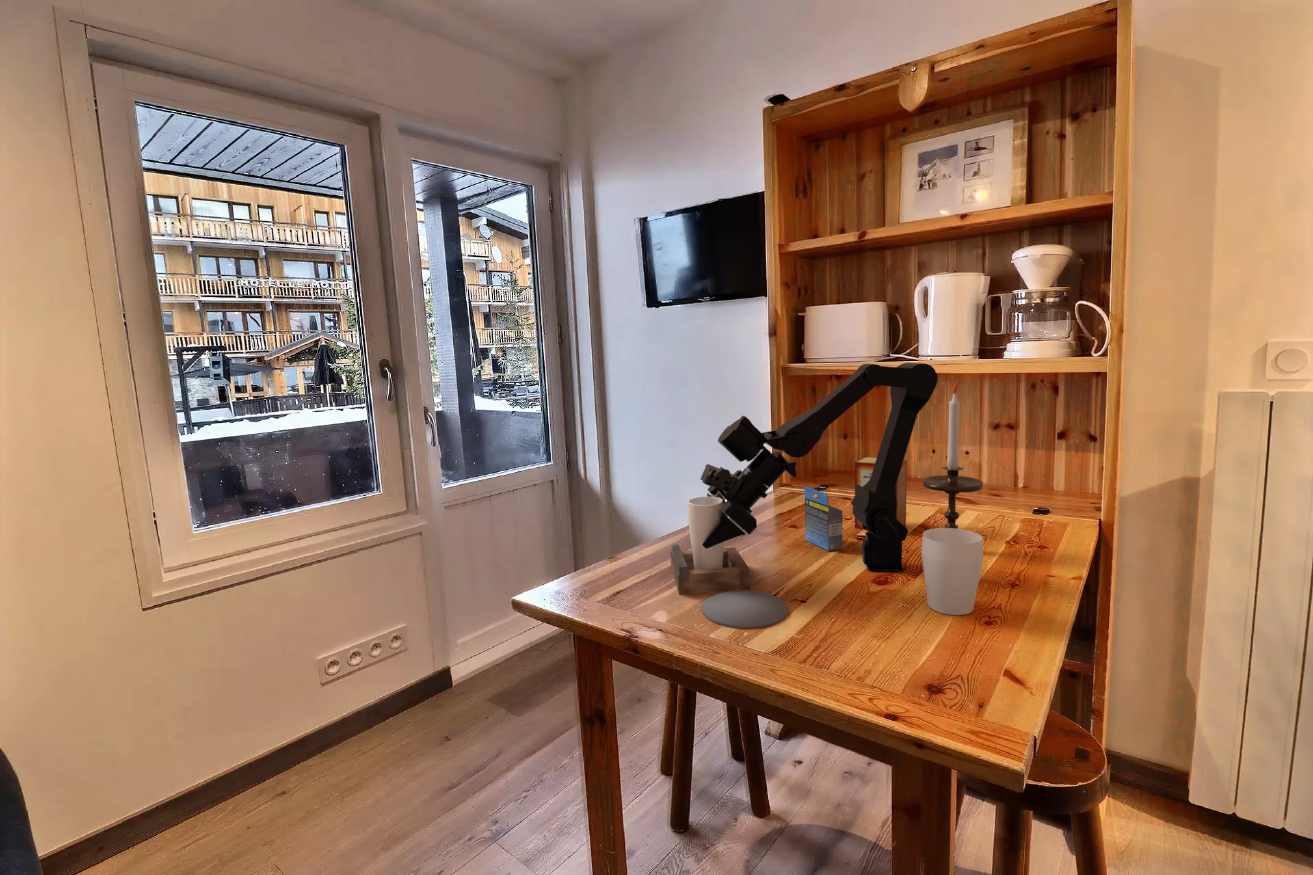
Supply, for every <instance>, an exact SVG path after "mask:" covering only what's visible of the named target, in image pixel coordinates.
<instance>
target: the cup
mask: <svg viewBox="0 0 1313 875" xmlns="http://www.w3.org/2000/svg"><path fill="white" fill-rule="evenodd" d="M983 540H984V538H983V536H982V535H981V534H979V533H978V532H974V531H972V530H968V529H962V528H961V529H960V528H956V529H955V528H946V527H936V528H935V527H934V528H929V529H926V530H924V531H923V532H922V541H921V550H920V551H921V560H922V567H923V568H922V569H923V576H924V583H925V589H926V597H927V605H928V606H929V607H930V608H931V609H932V610H933V611H936V612H937V613H941V614H943V615H950V616H965V615H968V614H971V613H972V612H973V611H974V608H975V602H976V598H977V597H976V596H977V592H978V588H979V587H978V586H979V581H980V576H981V571H982V566H983V562H984V543H983V542H984V541H983Z"/></svg>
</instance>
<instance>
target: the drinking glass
mask: <svg viewBox="0 0 1313 875" xmlns="http://www.w3.org/2000/svg"><path fill="white" fill-rule="evenodd" d="M723 504H724V501H723V499H721V498H717V497H707V496H698V497H694V498H691V499H689V500H688V501H687V520H688V521H687V522H688V530H689V537H690V545H691V550H692V554H693V562H694V570H700V569H714V568H723V548H725V547H724V544H725V541H724V542H722V543H719V544H717V545H715V546H712V547H710V548H707V549H706V548H705V547H704V546H703V545H702V544H703V542H704V541H705V539H706V538H707V536H708V535H709V533H710V532H711V531H712V529H713V528H714V526H715V525H716V523H717V522H718V520H719V509H720V510H721V511H722V512H723V513H724V514H725V512H724V511H723V510H722V506H723Z"/></svg>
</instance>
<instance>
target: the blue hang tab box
mask: <svg viewBox="0 0 1313 875" xmlns="http://www.w3.org/2000/svg"><path fill="white" fill-rule="evenodd" d="M803 487H804V488H803V489H804V516H805V517H804V518H805V519H804V522H805V523H804V526H805V528H804V529H805V534H804V535H805V536H804V537H805V542H808V543H811V544H813V545H815V546H817V547H819V548H821V549H823V550H825V551H826V552H830V551H831V552H832V551H838V550H843V510H842V509H839V508H837V507H834V506H832V505H829V499H828V493H826V492H823V491H820V490H817V489H814V488H811V487H808V486H806V485H804V486H803ZM813 495H814V496H813ZM815 495H816V496H817V497H815ZM818 497H819V498H818Z"/></svg>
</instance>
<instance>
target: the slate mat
mask: <svg viewBox="0 0 1313 875" xmlns="http://www.w3.org/2000/svg"><path fill="white" fill-rule="evenodd" d="M788 608H789V607H788V606H787V603H786V602H785V601H784V600H783V599H781V598H780V597H778V596H775V595H773V594H771V593H766V592H762V591H756V590H754V591H753V590H729V591H726V592H725V591H724V592H721V593H717V594H715V595H712V596H710V597H708V598H707V599H706V600H705V601H704V602H703V603H702V605H701V611H702V614H703V616H704V617H705V618H706V619H707V620H709V621H711V622H712V623H714V624H716V625H717V624H718V625H719V626H720V625H721V626H724V627H729V628H734V629H759V628H763V627H764V628H765V627H769V626H772V625H775V624H777V623H779V622H781V621H783V620H784V619H785V618H786V617H787V615H788Z"/></svg>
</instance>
